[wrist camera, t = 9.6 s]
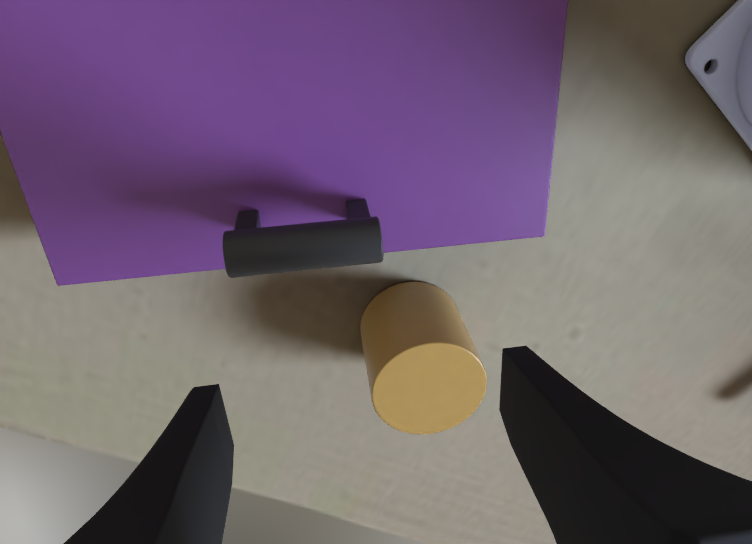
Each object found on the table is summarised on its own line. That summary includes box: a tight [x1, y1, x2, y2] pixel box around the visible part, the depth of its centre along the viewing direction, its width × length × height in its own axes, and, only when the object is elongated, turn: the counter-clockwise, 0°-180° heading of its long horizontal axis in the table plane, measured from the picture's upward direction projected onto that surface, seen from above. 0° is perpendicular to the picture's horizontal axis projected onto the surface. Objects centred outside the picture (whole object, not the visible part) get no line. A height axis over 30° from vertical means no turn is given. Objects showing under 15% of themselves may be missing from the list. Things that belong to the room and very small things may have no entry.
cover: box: [0, 0, 568, 286], centre depth 17 cm, size 10×17×4 cm, turn 94°
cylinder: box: [360, 282, 487, 434], centre depth 24 cm, size 4×4×4 cm
